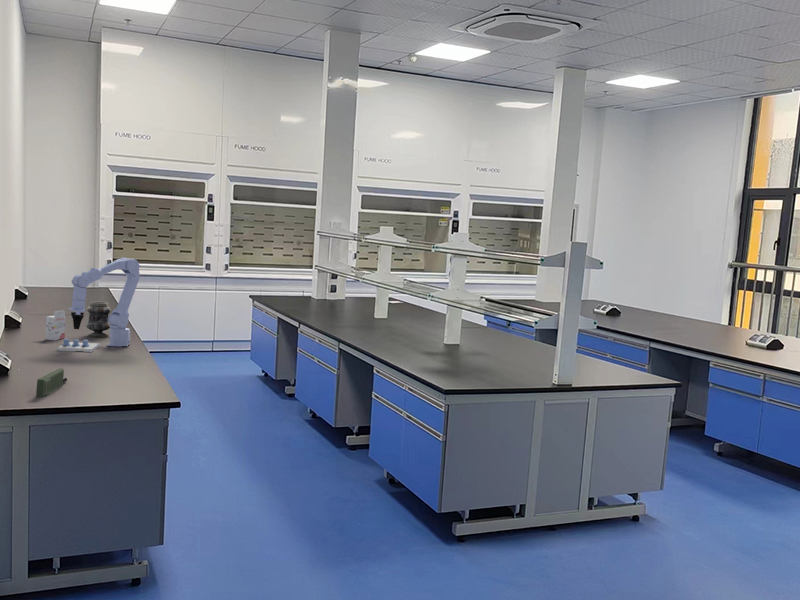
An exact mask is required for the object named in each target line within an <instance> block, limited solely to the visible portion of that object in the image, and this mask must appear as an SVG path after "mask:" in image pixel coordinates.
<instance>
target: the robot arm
mask: <svg viewBox="0 0 800 600" xmlns="http://www.w3.org/2000/svg"><path fill="white" fill-rule="evenodd" d="M140 267H141V265H140V263H139V262H138V260H137V259H136V258H127V257H124V256H123V257H121V258H118V259H116V260H114V261H112V262H111V263H108V264H106V265H104V266H102V267H100V268H98V267H91V268H90V269H89V270H87V271H85V272H84V271H83V272H81V274H76V275H74V276H73V277H72V279H71V283H72V285H73V287H72V288H73V289H72V300H71V307H69V308H68V311H71V312H70V314H71V315H70V316H71V318H72V323H73V329H74V330H80V327H81V324H82V320H83V318H84V317H85V315H84V314H85V313H84V312H86V309H85V308H86V307H85V306H86V298H87V287H89V285H90V284H92V283H94V282H96V281H98V280H101V279H102V277H103V276H104V275H106V274H109V273H111V272H114V271H116V270H121V271H122V272H123V273H124V274H125V276H126V282H125V283H124V286H123V290H122V292H121V295H120V297H119V301H118V303H117V306H116V308H114V309H113V310H112V312H111V314H110V315H108V322H109V324H110V328H109V343H107V345H106V346H108V347H122V346H127V347H129V346H130V345H131V329H130V328H127V326H128V324H129V317H130V313H129V308H130V305H131V303H132V300H133V298H134V294H135V292H136V288H137V286H138V283H139V281H140V277H141V276H140ZM129 344H130V345H129ZM128 345H129V346H128Z"/></svg>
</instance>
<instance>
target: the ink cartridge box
mask: <svg viewBox="0 0 800 600" xmlns="http://www.w3.org/2000/svg"><path fill="white" fill-rule="evenodd" d="M53 314H54V315H48V316H46V317H45V340H49V341H56V340H62V339H63V340H64V339H66V336H65V335H66V334H65V333H66V311H65V309H62V310H61V309H60V310H56V311H54V312H53Z"/></svg>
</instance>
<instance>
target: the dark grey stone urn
mask: <svg viewBox="0 0 800 600" xmlns="http://www.w3.org/2000/svg"><path fill="white" fill-rule="evenodd" d="M86 310H87V312H88V315H89V316H88V321H87V322H86V324H85V327H86V328H87V329H89V330H90V331H92V332H91V333H89V334H87V335H88V337H91V338H104V337H105V338H107V337H108V336H109V335H108V334H107V333H104V332H105V331H107V330H110V324H109V322H108V317H109V314H110V313H112V312H111V311H112V309H111V307H110V306H109V303H108V301H107V302H105V301H91V302H90V305H89V306H88V307H87V309H86Z"/></svg>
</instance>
